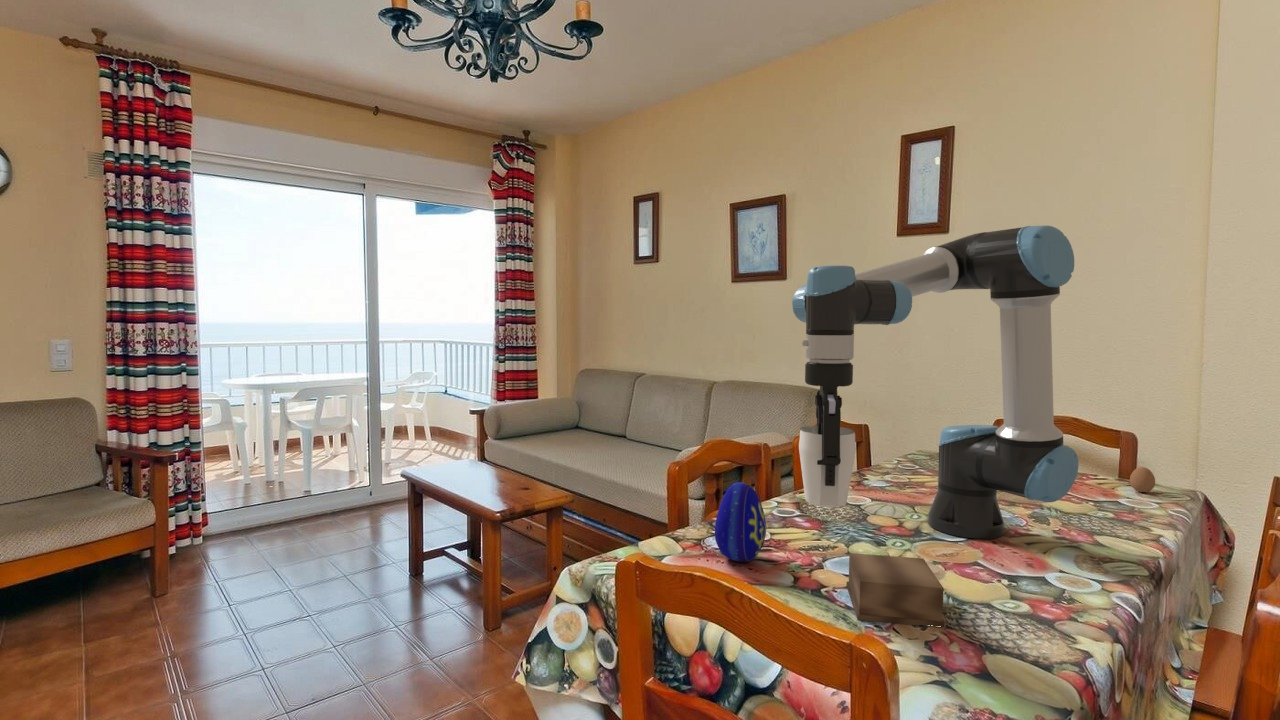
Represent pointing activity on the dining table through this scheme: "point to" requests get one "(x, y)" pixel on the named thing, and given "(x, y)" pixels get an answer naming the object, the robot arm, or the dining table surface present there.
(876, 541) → the dining table surface
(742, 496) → the ornament
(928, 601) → the riser
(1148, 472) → the egg
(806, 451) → the cup
